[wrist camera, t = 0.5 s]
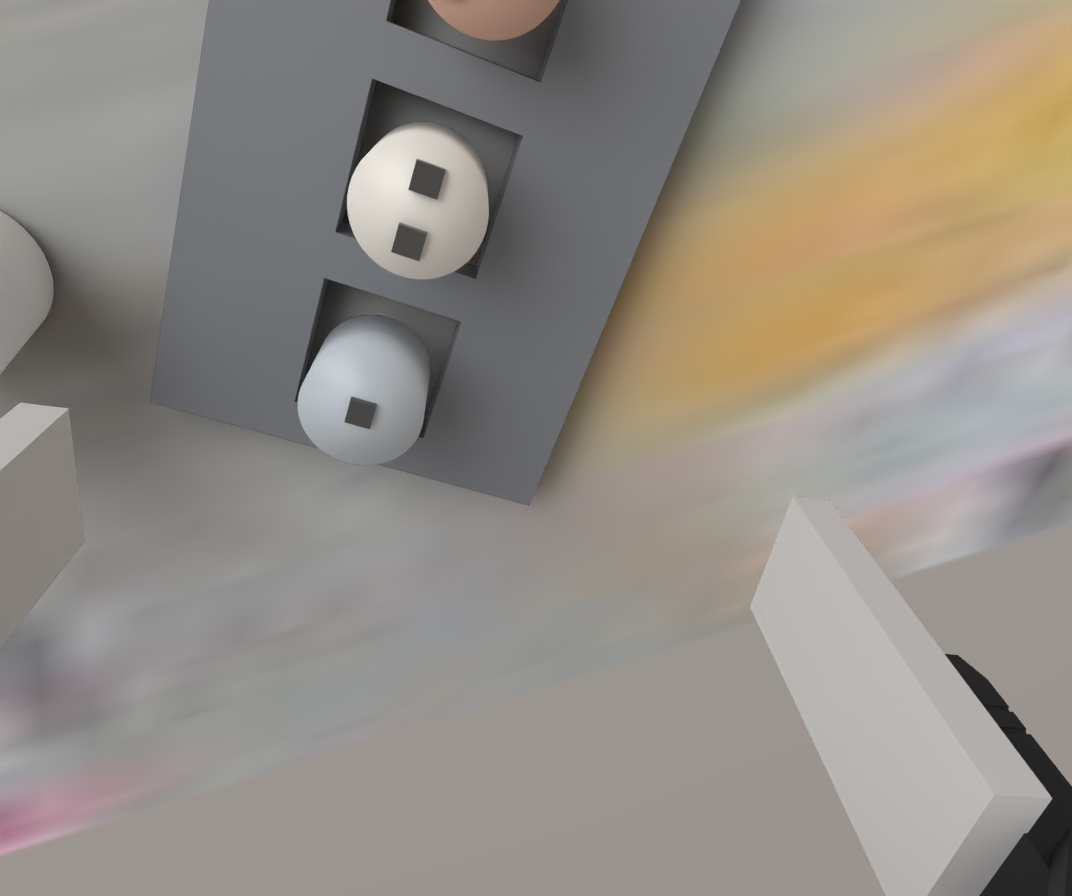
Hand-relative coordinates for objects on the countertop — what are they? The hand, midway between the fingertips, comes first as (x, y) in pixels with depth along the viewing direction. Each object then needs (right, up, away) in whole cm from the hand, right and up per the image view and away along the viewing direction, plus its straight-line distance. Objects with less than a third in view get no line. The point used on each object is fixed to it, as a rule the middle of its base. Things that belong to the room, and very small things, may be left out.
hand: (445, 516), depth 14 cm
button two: (-3, +12, +16) cm, 20 cm away
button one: (-5, +5, +19) cm, 21 cm away
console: (-3, +13, +18) cm, 22 cm away
